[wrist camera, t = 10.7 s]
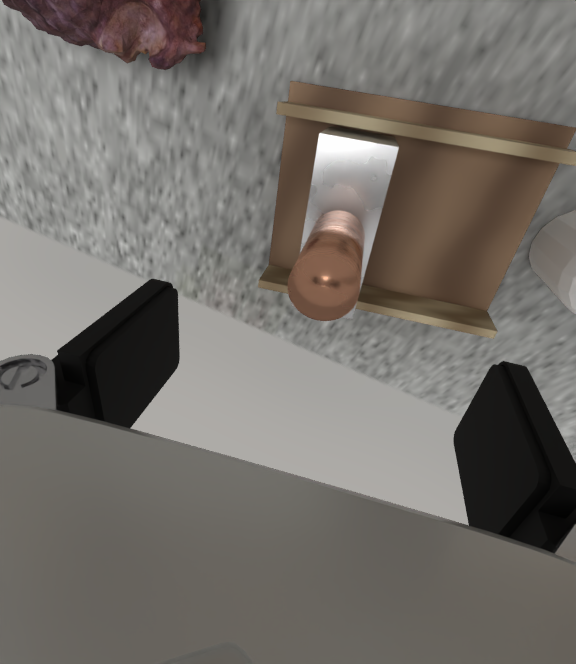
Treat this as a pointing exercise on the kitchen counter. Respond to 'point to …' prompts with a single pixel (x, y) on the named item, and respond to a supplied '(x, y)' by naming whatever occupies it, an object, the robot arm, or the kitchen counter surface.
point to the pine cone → (122, 26)
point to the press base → (424, 200)
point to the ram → (341, 221)
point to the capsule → (557, 257)
